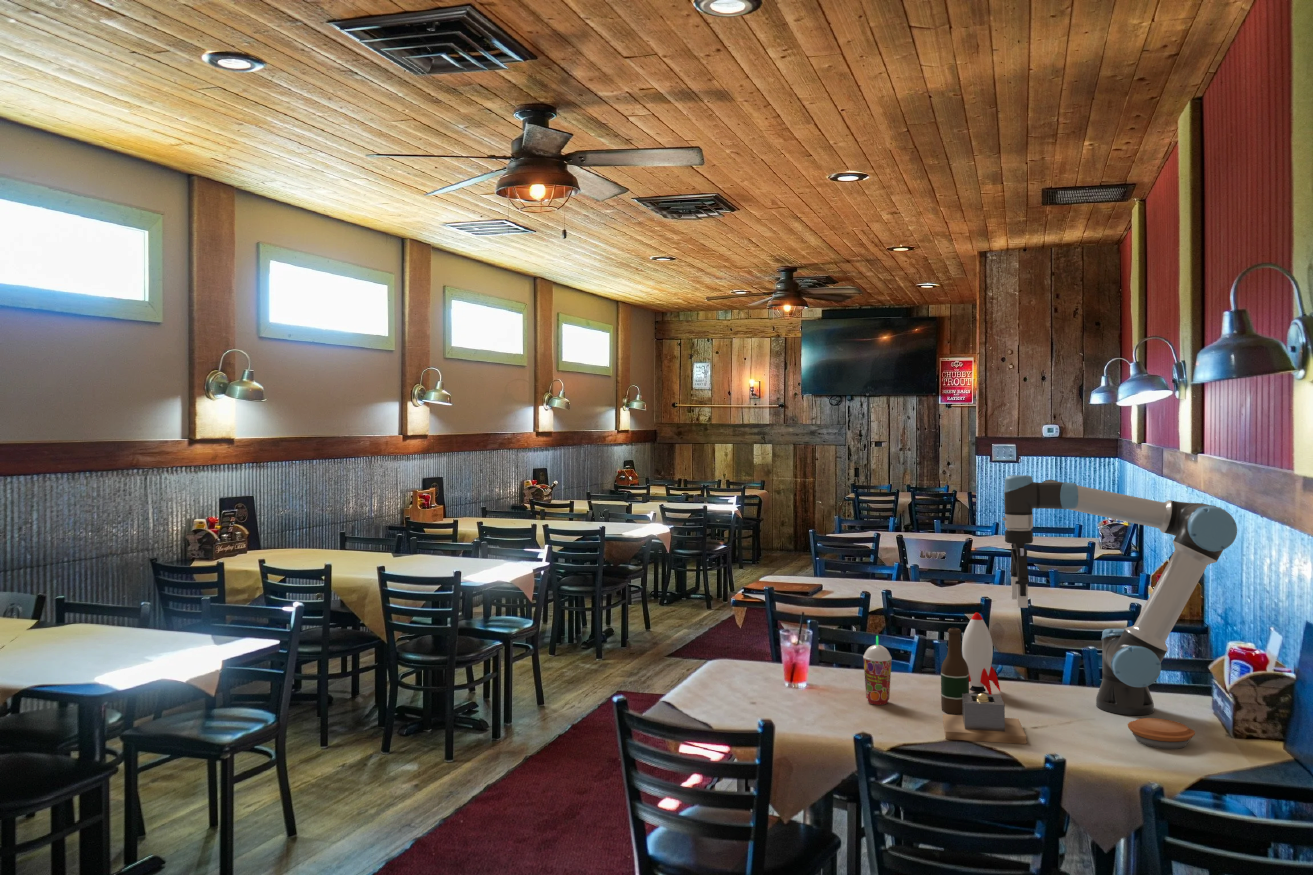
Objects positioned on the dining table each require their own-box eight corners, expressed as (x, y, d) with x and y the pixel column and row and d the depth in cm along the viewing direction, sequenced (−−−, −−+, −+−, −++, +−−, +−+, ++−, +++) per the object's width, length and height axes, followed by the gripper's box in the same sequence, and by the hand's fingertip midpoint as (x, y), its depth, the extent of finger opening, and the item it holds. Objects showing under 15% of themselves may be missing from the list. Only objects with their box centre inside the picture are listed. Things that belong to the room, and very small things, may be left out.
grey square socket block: (1000, 720, 263) (1000, 694, 263) (1004, 731, 253) (1004, 704, 253) (962, 718, 265) (962, 692, 265) (965, 729, 256) (964, 702, 256)
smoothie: (861, 704, 287) (860, 637, 287) (866, 697, 295) (865, 632, 295) (889, 707, 284) (889, 639, 284) (893, 700, 292) (893, 634, 292)
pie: (1166, 755, 239) (1166, 735, 239) (1114, 737, 254) (1114, 718, 254) (1209, 746, 246) (1208, 727, 246) (1156, 730, 260) (1155, 711, 260)
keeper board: (1018, 725, 265) (1018, 718, 265) (1026, 743, 249) (1026, 736, 249) (942, 721, 269) (942, 714, 269) (945, 738, 254) (945, 731, 254)
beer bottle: (970, 715, 275) (969, 631, 275) (942, 714, 276) (941, 630, 276) (967, 708, 282) (966, 626, 282) (940, 706, 284) (939, 625, 284)
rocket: (1000, 691, 300) (999, 611, 300) (992, 699, 291) (991, 616, 291) (964, 686, 306) (963, 608, 306) (955, 694, 297) (954, 613, 297)
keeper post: (988, 723, 260) (987, 692, 260) (989, 726, 257) (988, 695, 257) (976, 722, 261) (976, 691, 261) (977, 726, 258) (977, 694, 258)
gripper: (1000, 525, 289) (1001, 595, 289) (1009, 533, 265) (1010, 610, 265) (1026, 525, 287) (1027, 596, 287) (1039, 533, 263) (1039, 611, 263)
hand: (1019, 603), depth 276 cm, fingers open, 13 cm apart
